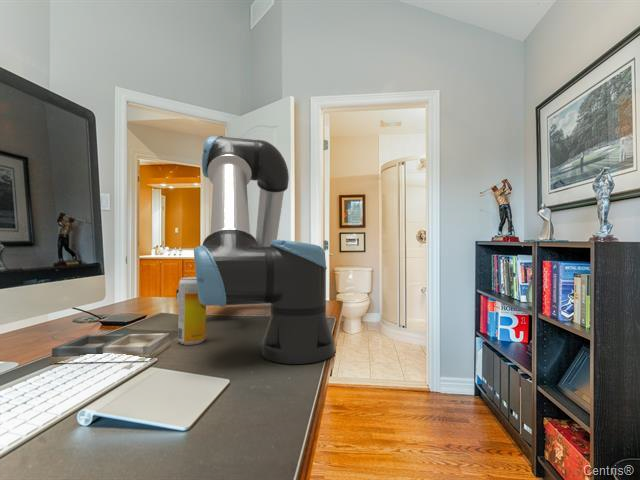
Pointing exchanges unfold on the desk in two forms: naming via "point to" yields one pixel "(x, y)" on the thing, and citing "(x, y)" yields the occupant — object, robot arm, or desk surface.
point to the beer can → (190, 313)
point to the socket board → (112, 345)
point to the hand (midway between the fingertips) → (204, 298)
